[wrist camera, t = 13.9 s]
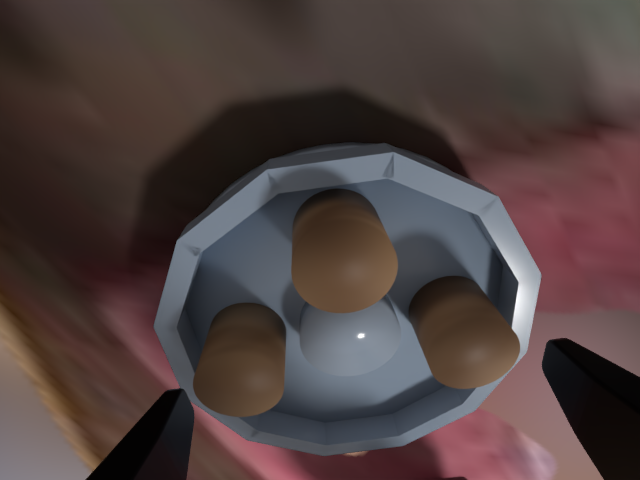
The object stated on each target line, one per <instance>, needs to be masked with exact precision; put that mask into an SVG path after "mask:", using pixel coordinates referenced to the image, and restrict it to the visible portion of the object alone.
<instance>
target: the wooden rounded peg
mask: <svg viewBox="0 0 640 480" xmlns="http://www.w3.org/2000/svg"><path fill="white" fill-rule="evenodd" d="M285 355H286V326H285V324H284V322H283V320H282V318H281V317H280V316H279V315H278V314H277V313H276V312H275V311H273V310H272V309H270V308H268V307H266V306H264V305H261V304H257V303H246V302H245V303H237V304H233V305H230V306H227V307H225V308H224V309H222V310H221V311H219V312H218V313H217V314H216V315H215V317H214V318H213V320H212V322H211V325H210V328H209V331H208V334H207V338H206V341H205V344H204V347H203V350H202V353H201V356H200V359H199V363H198V366H197V369H196V372H195V375H194V379H193V390H194V393H195V395H196V397H197V398H198V399H199V401H200V402H201V403H202V404H203V405H205V406H206V407H207V408H209V409H211V410H213V411H215V412H217V413H220V414H223V415H227V416H233V417H248V416H254V415H258V414H261V413H263V412H266V411H268V410H269V409H271V408H272V407H274V406H275V405H276V404H277V403H278V402H279V400H280V399H281V397H282V395H283V392H284V378H285Z"/></svg>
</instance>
